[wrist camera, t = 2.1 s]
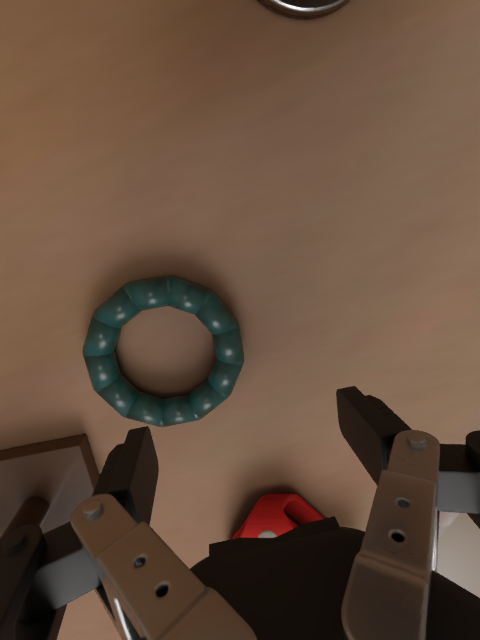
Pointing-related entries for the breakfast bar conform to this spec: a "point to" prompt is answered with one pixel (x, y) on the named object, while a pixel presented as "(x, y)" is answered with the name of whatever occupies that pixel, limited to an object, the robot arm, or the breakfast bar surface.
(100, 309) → the ring
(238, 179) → the breakfast bar surface
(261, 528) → the tracker holder
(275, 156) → the breakfast bar surface
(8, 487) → the brown peg stand
